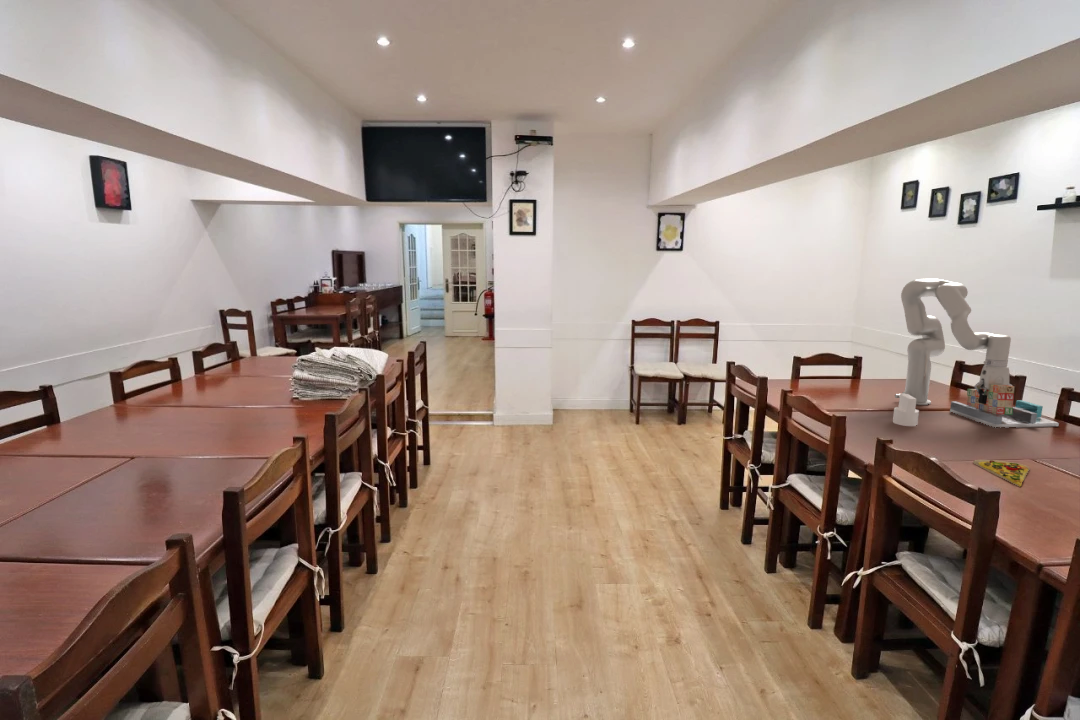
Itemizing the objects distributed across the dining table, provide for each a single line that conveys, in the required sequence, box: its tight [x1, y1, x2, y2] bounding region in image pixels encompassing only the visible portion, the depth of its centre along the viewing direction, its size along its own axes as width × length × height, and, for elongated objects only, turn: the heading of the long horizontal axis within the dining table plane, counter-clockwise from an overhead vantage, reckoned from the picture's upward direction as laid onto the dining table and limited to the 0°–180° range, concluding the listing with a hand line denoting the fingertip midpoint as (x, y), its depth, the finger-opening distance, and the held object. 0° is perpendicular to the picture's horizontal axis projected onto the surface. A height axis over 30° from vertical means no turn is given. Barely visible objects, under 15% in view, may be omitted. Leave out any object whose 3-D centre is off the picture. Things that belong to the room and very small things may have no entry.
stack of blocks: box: [966, 385, 1015, 415], centre depth 242 cm, size 21×6×12 cm, turn 170°
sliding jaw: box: [1004, 399, 1043, 423], centre depth 243 cm, size 12×24×5 cm, turn 4°
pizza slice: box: [972, 459, 1031, 487], centre depth 182 cm, size 16×21×3 cm
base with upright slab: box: [892, 393, 920, 427], centre depth 237 cm, size 9×9×12 cm
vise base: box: [949, 400, 1060, 429], centre depth 243 cm, size 28×24×5 cm
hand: (990, 402), depth 241 cm, fingers open, 7 cm apart
